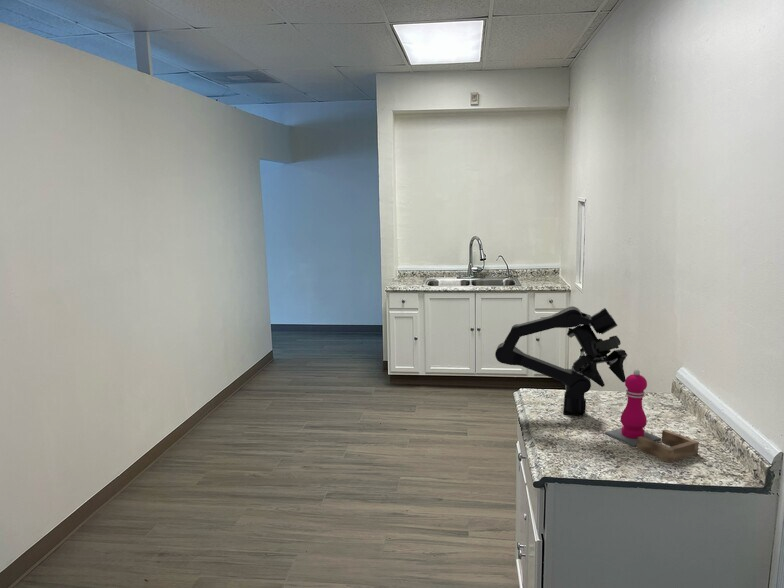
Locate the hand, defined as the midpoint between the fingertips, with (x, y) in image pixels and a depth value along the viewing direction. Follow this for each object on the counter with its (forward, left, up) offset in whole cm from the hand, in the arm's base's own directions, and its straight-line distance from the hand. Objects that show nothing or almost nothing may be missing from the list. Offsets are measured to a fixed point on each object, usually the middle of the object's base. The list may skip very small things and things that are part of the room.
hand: (614, 384), depth 186 cm
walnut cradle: (+13, -15, -14) cm, 24 cm away
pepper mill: (+6, -7, -13) cm, 16 cm away
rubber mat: (+6, -7, -14) cm, 16 cm away
